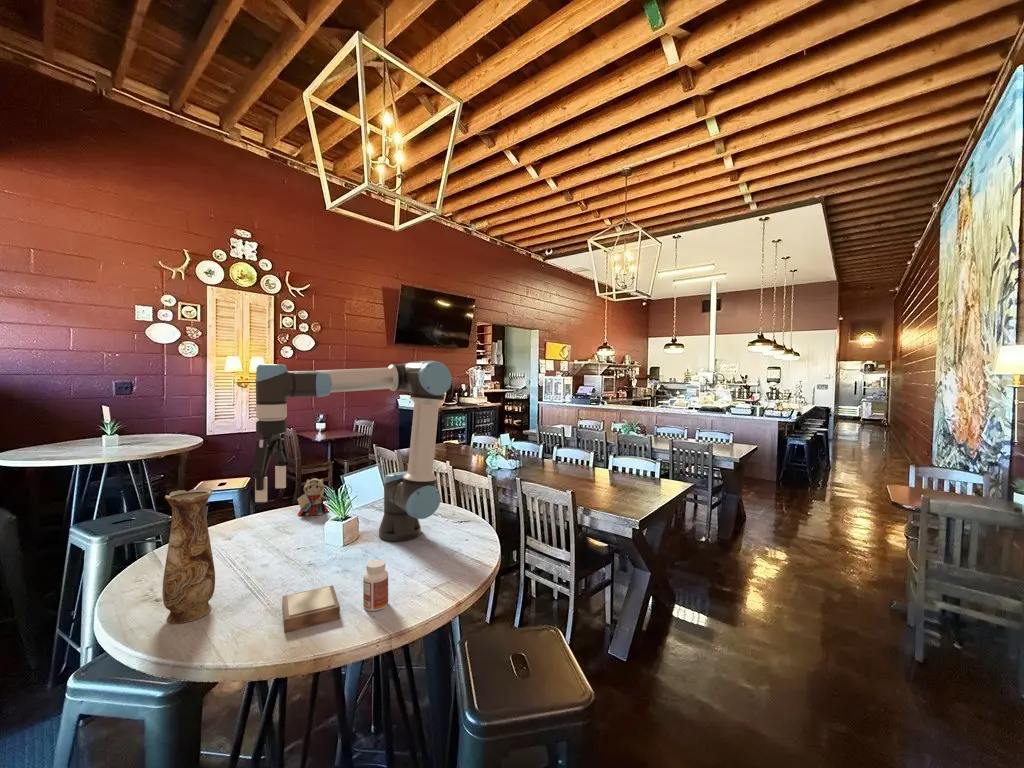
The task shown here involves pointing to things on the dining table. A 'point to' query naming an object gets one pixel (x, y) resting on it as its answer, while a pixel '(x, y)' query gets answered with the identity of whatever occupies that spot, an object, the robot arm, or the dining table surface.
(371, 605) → the pill bottle
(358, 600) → the dining table surface
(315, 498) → the figurine
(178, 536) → the vase
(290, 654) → the dining table surface
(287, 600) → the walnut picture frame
